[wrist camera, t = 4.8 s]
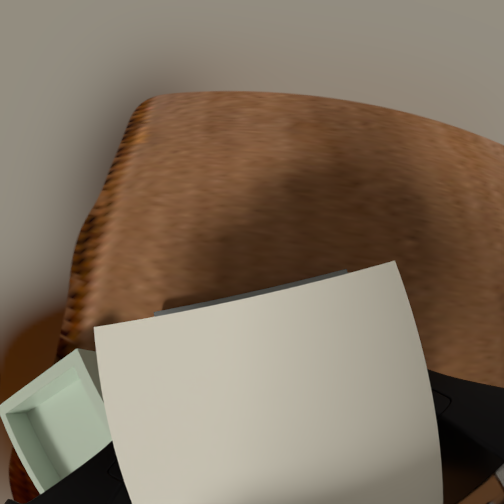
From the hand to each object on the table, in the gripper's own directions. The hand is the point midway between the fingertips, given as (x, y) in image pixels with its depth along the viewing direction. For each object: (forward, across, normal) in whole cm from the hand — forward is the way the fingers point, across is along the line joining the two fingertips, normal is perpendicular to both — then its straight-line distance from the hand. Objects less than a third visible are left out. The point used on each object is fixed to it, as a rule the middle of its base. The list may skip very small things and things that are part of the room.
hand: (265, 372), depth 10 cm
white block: (+3, 0, -5) cm, 6 cm away
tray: (+2, -13, -8) cm, 16 cm away
